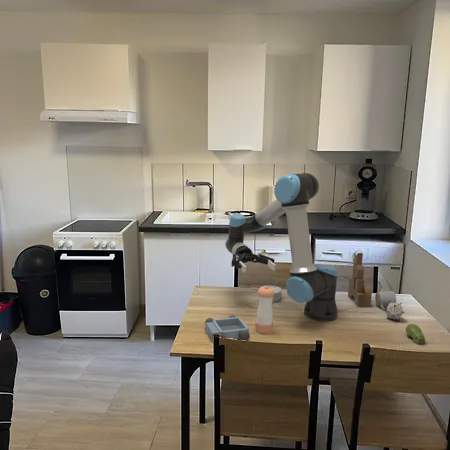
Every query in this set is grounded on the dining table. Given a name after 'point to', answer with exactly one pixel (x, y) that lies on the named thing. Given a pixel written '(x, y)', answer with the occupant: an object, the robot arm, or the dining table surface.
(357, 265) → the wooden toy
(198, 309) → the dining table surface
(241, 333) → the chassis
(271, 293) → the pepper shaker
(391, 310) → the game die
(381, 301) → the grey cylindrical jar
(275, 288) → the ramekin
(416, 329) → the green toy animal
